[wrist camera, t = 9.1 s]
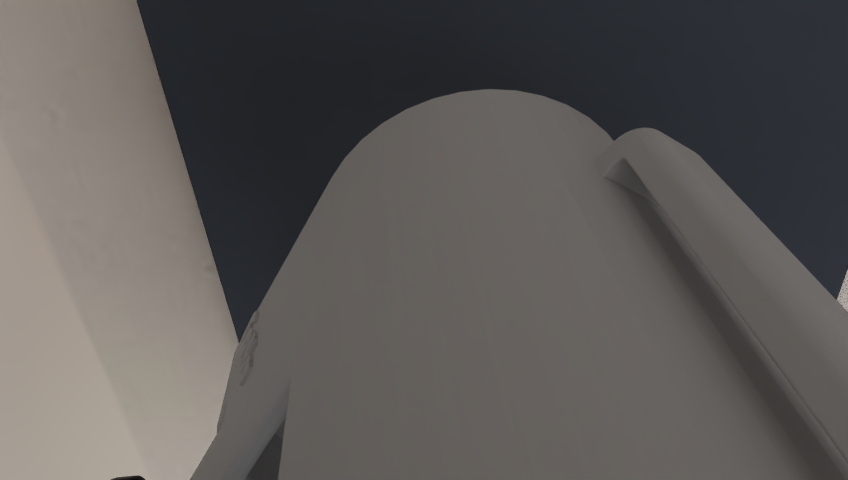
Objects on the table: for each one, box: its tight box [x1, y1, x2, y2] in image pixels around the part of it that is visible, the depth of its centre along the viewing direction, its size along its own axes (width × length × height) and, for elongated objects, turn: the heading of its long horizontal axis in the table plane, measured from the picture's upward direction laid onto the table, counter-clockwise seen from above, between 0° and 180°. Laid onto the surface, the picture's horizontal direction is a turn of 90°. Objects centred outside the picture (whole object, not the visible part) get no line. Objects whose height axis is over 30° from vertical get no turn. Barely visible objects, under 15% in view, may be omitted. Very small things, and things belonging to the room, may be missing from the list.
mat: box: [137, 0, 848, 343], centre depth 20 cm, size 20×24×1 cm
